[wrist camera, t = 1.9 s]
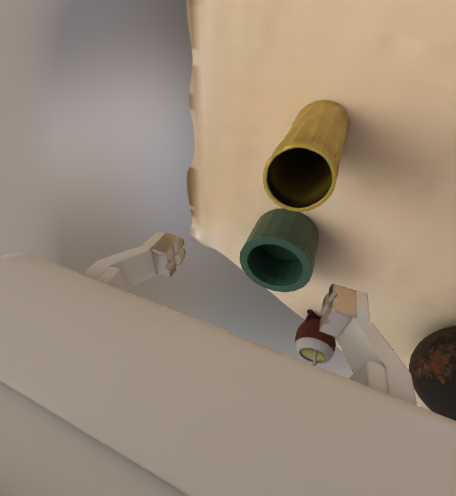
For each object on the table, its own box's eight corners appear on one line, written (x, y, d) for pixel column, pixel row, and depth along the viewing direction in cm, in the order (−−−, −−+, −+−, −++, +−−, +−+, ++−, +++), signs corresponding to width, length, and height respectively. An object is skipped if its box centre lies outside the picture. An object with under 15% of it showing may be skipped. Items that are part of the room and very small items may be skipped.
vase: (297, 97, 26) (260, 131, 16) (357, 101, 24) (358, 142, 14) (288, 153, 30) (254, 208, 20) (338, 160, 28) (329, 224, 18)
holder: (258, 201, 36) (241, 228, 31) (327, 217, 33) (321, 249, 28) (252, 250, 43) (238, 279, 37) (309, 266, 40) (301, 300, 35)
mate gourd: (313, 332, 50) (302, 406, 40) (290, 309, 49) (272, 381, 38) (346, 326, 45) (343, 410, 35) (322, 301, 44) (311, 381, 33)
